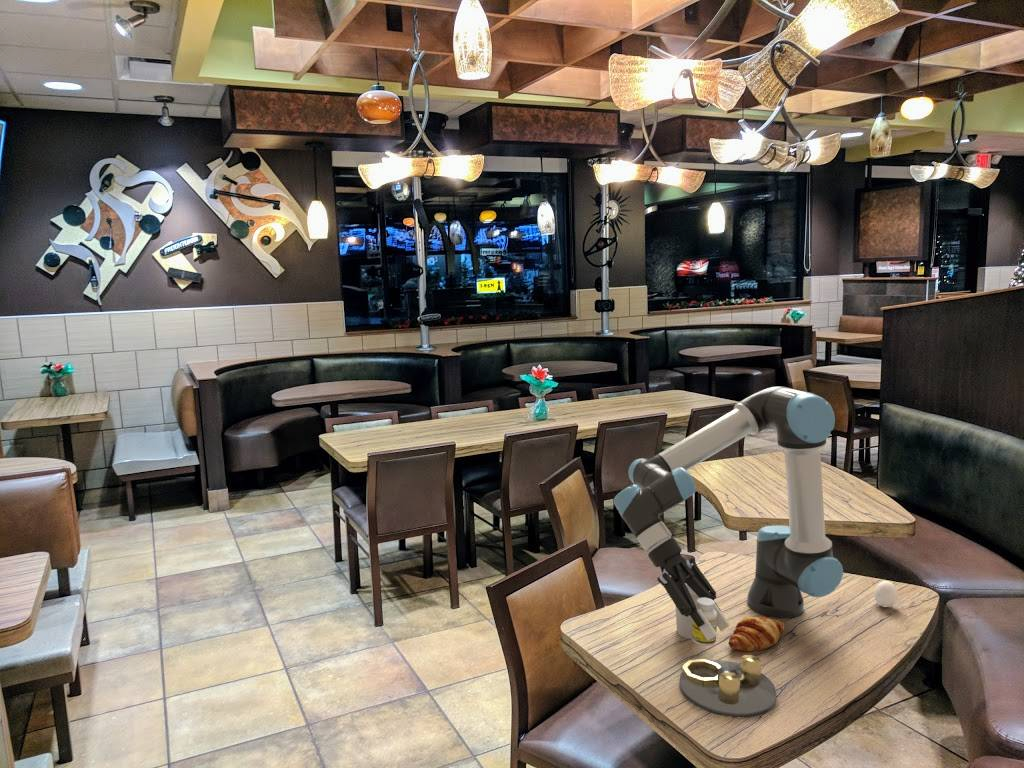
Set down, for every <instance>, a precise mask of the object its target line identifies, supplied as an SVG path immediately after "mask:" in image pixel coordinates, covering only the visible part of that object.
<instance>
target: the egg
mask: <svg viewBox="0 0 1024 768" xmlns="http://www.w3.org/2000/svg"><path fill="white" fill-rule="evenodd" d="M873 595H874V596H873V597H874V600H875V601H876V604H878V605H879V606H880V605H882V606H887V607H889V608H892V607H894V606H895V605H896V604H897V602H898V599H899V592H898V589H897V588H896V586H895V584H893V583H892V582H891V581H889V580H883V581H880V582H879V583H878V584H877V585H876V587H875V589H874V593H873ZM882 606H881V607H882ZM891 606H892V607H891Z"/></svg>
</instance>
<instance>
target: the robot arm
mask: <svg viewBox="0 0 1024 768" xmlns="http://www.w3.org/2000/svg"><path fill="white" fill-rule="evenodd" d="M835 421H836V417H835V412H834V410H833V407H832V406H831V404H830V402H828V400H826V399H825V398H823V397H822V396H819V395H817V394H815V393H814V392H808V391H802V390H799V389H798V390H797V389H795V388H790V387H787V386H771V387H767V388H765V389H762V390H759V391H757V392H755V393H753V394H751V395H750V396H748V397H745V398H744V399H742V400H740V401H739V402H737V403H736V404H734V406H733V410H731V411H729V412H727V413H725V414H724V415H722V416H721V417H719V418H718V419H716V420H714V421H712V422H711V423H709V424H706V426H704V427H702V428H700V429H699V430H697V431H695V432H693V433H691V434H690V435H688V436H687V437H685V438H683V439H682V440H680V441H678V442H676V443H675V444H673V445H670V446H669V447H668V448H666V449H664V450H663V451H661V452H660V453H658V454H656V455H654V456H652V457H651V458H649V459H648V458H637V459H635V460H633V462H631V464H630V465H629V467H628V479H629V480H630V481H631V483H632V484H631V485H630V486H626V488H623V489H622V490H621V491H620V492H618V493H617V494H616V495H615V497H614V498H613V505H614V506H615V508H616V510H617V511H618V513H619V515H620V517H621V518H622V519H623V521H624V522H625V523H626V525H627V526H628V528H629V529H630V531H631V532H632V533H633V535H634V536H635V538H636V539H637V541H638V542H639V544H640V546H641V547H642V548H643V550H644V552H646V553H648V558H649V560H650V561H651V562H652V564H653V565H654V568H655V567H656V568H660V570H661V575H659V576H658V577H657V579H656V580H657V581H658V583H659V584H660V585H661V586H663V588H664V590H665V591H666V592H667V594H668V595H669V597H670V598H671V601H672V602H673V603H674V605H675V608H676V607H677V608H678V610H679V611H680V613H681V614H682V615H685V616H686V617H688V616H689V615H690V616H691V618H692V619H693V621H694V622H695V623H696V625H697V626H698V627H699V628H700V630H701V631H702V633H703V634H704V636H705V637H706V639H707V640H710V639H712V638H713V637H715V636H716V637H717V636H718V632H716V631H715V630H714V628H713V627H712V625H711V624H710V622H709V621H708V619H707V618H706V617H705V615H704V614H703V612H702V611H701V609H699V610H697V607H696V605H695V603H694V601H693V599H692V597H691V595H690V592H689V590H688V588H687V586H686V584H687V585H688V586H689V587H690V588H691V589H692V590H693V591H694V592H695V594H696V595H697V596H698V597H699V598H710V599H712V600H714V602H715V607H714V609H715V610H716V612H717V628H718V629H719V631H720V632H723V631H725V630H726V629H727V628H729V627H730V626H731V624H730V623H729V621H728V620H727V618H726V616H725V615H724V613H723V612H722V610H721V608H720V606H718V604H717V602H716V601H715V600H716V599H717V592H716V590H715V588H714V587H713V586H712V585H711V583H710V582H709V581H708V578H706V577H705V575H704V573H702V571H701V570H700V568H699V567H698V565H697V563H696V560H695V559H694V558H693V557H692V558H690V559H687V560H686V559H685V557H683V556H682V555H681V552H682V550H683V549H682V547H681V546H680V545H679V543H678V542H677V540H676V539H675V538H673V537H672V534H673V533H671V531H670V530H669V529H668V527H667V526H666V525H665V523H664V522H663V520H662V519H661V517H660V516H661V515H662V514H664V513H666V512H667V511H669V510H671V509H672V508H675V507H677V505H679V504H681V503H683V502H686V500H687V499H688V498H690V497H692V496H693V495H694V494H695V493H696V492H697V486H696V483H695V481H694V479H693V477H692V476H691V474H690V473H689V470H690V469H691V468H694V467H695V466H697V465H699V464H700V463H702V462H704V461H705V460H707V459H709V458H710V457H712V456H714V455H715V454H717V453H719V452H721V451H722V450H724V449H726V448H727V447H729V446H731V445H733V444H734V443H736V442H738V441H740V440H742V439H743V438H745V437H747V436H748V435H753V436H755V435H758V434H759V433H761V432H762V431H766V430H767V431H768V430H774V431H776V437H777V446H778V447H779V448H781V449H782V450H783V451H784V463H785V464H784V465H785V478H786V489H787V490H786V493H787V507H788V520H789V521H788V522H789V523H788V525H789V526H788V525H766V526H763V527H761V528H760V529H759V530H758V532H757V536H756V555H755V556H756V557H755V573H754V578H753V581H752V583H751V586H750V588H749V591H748V592H747V598H746V599H747V601H746V602H747V605H748V607H750V608H751V609H752V610H754V611H755V612H757V613H761V614H762V615H766V616H770V617H776V618H793V617H797V616H799V615H801V614H802V613H804V605H805V604H804V603H805V602H804V598H803V594H802V593H804V594H807V595H808V596H810V597H813V598H823V597H826V596H829V595H830V594H832V593H833V592H834V591H835V590H836V589H837V587H839V586H840V584H841V582H842V580H843V577H844V576H843V575H844V569H843V565H842V564H841V562H840V561H839V560H838V559H837V558H836V557H834V555H833V541H832V540H830V538H829V537H827V536H826V526H825V525H826V524H825V509H824V491H823V489H824V488H823V474H822V459H821V458H822V457H821V450H822V449H823V448H824V447H825V446H826V445H827V439H828V438H829V437H830V436H831V432H832V431H834V429H835V425H836V424H835V423H836V422H835ZM685 583H686V584H685ZM690 606H691V607H690ZM683 608H684V609H683Z"/></svg>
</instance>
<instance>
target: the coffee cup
mask: <svg viewBox="0 0 1024 768" xmlns="http://www.w3.org/2000/svg"><path fill="white" fill-rule="evenodd" d="M685 584H686V583H685ZM686 586H687V588H688V590H689V592H690V595H691V597H692V599H693V601H694V603H695V605H696V607H697V599H698V598H699V597H698V596H697V595H696V594H695V592H694V591H693V590H692V589H691V588H690V587H689V586H688V585H687V584H686ZM690 607H691V606H690ZM683 609H684V608H683ZM675 619H676V620H675V621H676V633H677V635H679V636H680V637H681V638H684V639H686V640H687V639H688V640H693V639H692V629H693V619H692V618H691V616H690V615H689V616H688V617H686V616H685V615H682V614H681V613H680V611H679V610H678V608H677V607H676V606H675Z"/></svg>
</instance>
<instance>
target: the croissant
mask: <svg viewBox="0 0 1024 768" xmlns="http://www.w3.org/2000/svg"><path fill="white" fill-rule="evenodd" d="M784 629H785V624H784V621H783V622H782V621H779V620H777V619H775V618H772V619H770V618H768V617H766V616H763V615H762V616H760V617H756V616H748V617H747V616H746V617H744V618H742V620H739V621H738V623H736V626H735V629H734V630H733V633H732V635H731V636H730V637H729V640H728V646H729V647H730V648H731V649H733V650H741V651H744V652H752V651H760V650H761V651H762V650H765V649H766V648H770V647H772V646H774V645H776V643H778V641H779V639H780V637H781V634H782V632H784Z"/></svg>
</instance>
